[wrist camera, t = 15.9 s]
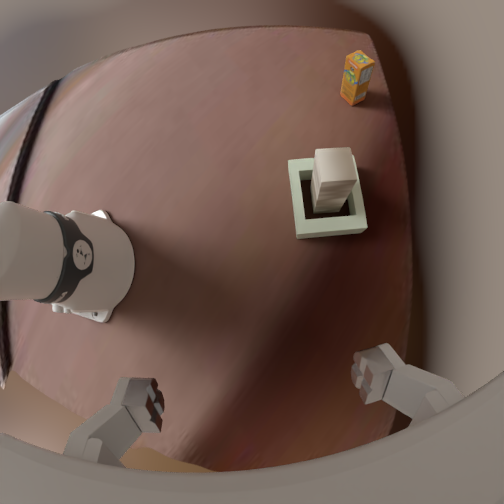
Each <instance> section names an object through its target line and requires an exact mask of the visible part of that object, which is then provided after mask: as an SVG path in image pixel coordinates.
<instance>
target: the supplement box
mask: <svg viewBox="0 0 504 504" xmlns="http://www.w3.org/2000/svg"><path fill="white" fill-rule="evenodd" d="M374 64H375V61H373V60H372V59H370V58H369V57H368V56H366V55H365V54H364V53H363V52H362V51H361V50H358V51H356V52H354V53H352V54H350V55H348V56H346V63H345V69H344V75H343V80H342V86H341V92H340V95H341V96H342V97H343V98H344V99H345V100H346V101H347V102H348V103H349V104H350V105H351V106H353V105H355V104H357V103H359V102H361V101H362V100H364V99H365V96H366V92H367V89H368V85H369V82H370V78H371V75H372V71H373V68H374Z"/></svg>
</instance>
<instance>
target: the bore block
mask: <svg viewBox="0 0 504 504" xmlns="http://www.w3.org/2000/svg"><path fill="white" fill-rule="evenodd" d="M352 157H353V162H354V166H355V171H356V175H357V181H356V183H355V185H354V186H353V188H352V190H351V192H350V193H349V195H348V197H347V199H348V205H349V211H350V216H341V217H330V218H319V219H308V220H305V214H304V206H303V198H302V191H301V183H300V180H312V173H313V166H314V158H306V159H295V160H288V170H289V178H290V186H291V193H292V201H293V210H294V218H295V227H296V237H297V239H303V238H313V237H324V236H334V235H345V234H356V233H362V232H363V231H364V230H365V229H367V221H366V215H365V209H364V203H363V198H362V192H361V187H360V182H359V177H358V173H357V168H356V164H355V159H354V156H352Z"/></svg>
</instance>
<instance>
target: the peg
mask: <svg viewBox="0 0 504 504" xmlns="http://www.w3.org/2000/svg"><path fill="white" fill-rule="evenodd" d="M356 181H357V175H356V171H355V166H354V162H353V157H352V153H351V149H350V147H345V148H327V149H316V151H315V158H314V166H313V173H312V180H311V186H310V193H311V200H312V207H313V214H320V213H331V212H339V211H340V209H341V207H342V206H343V204H344V202H345V200H346V199H347V197H348V195H349V193H350V192H351V190H352V188H353V186H354V185H355V183H356Z"/></svg>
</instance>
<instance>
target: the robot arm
mask: <svg viewBox="0 0 504 504" xmlns="http://www.w3.org/2000/svg"><path fill="white" fill-rule="evenodd" d="M134 266H135V261H134V252H133V248H132V245H131V242H130V240H129V238H128V236H127V235H126V233H125V232H124V231H123V230H122V229H121V228H120V227H118V226H117V225H115V224H114V223H113V222H112V221H111V219H110V217H109V215H108V214H107V212H106V211H104V210H98V211H96V212H94V213H92V214H88V213H84V212H80V211H76V210H73V211H71V213H68V214H66V215H63V214H61V213H57V212H51V211H44V212H41V211H38V210H35V209H32V208H29V207H26V206H23V205H20V204H17V203H14V202H11V201H6V202H1V203H0V301H5V300H27V299H33V300H34V301H37V302H40V303H45V304H52V305H53V306H52V310H53V311H54V312H59V313H63V312H64V313H74V314H77V315H80V316H83V317H86V318H89V319H92V320H95V321H98V322H107V321H108V320H109V318H110V316H111V313H112V311H113V309H114V307H115V306H116V305H117V304H118V303H119V302H120V301H121V300H122V299H123V298H124V297H125V295H126V294H127V292H128V290H129V288H130V286H131V283H132V280H133V275H134ZM97 313H98V315H97ZM353 359H354V361H355V363H354V365H353V366H352V369H351V378H352V381H353V383H354V385H355V387H357V388H359V389H360V392H359V395H360V397H361V398H362V400H363V402H364V404H369V403H372V402H375V401H378V400H382V399H383V401H385V402H386V403H388V404H389V405H391V406H393V407H394V408H396V409H398V410H399V411H401V412H402V413H404V414H406V415H407V416H409V417H411V418H413V420H412V422H411V424H410V425H409V427H408V428H406V429H404V430H402V431H400V432H397V433H395V434H392V435H390V436H387V437H384V438H382V439H379V440H377V441H374V442H371V443H368V444H365V445H362V446H359V447H356V448H353V449H350V450H347V451H343V452H340V453H336V454H333V455H329V456H325V457H321V458H317V459H312V460H308V461H303V462H298V463H293V464H288V465H282V466H276V467H269V468H262V469H254V470H244V471H232V472H213V473H178V472H160V471H148V470H137V469H130V468H126V467H125V466H124V465H123V464H122V463H121V462H120V461H119V459H120V458H121V457H122V456H123V455H124V453H125V452H126V451H127V450H128V449H129V448H130V447H131V445H132V444H133V443H134V442H135V441H136V440H137V438H138V437H139V436H140V435H141V434H142V433H141V432H148V433H161V427H162V419H161V417H160V415H161V414H162V413H164V398H163V395H162V392H161V391H160V390H158V389H157V387H158V383H157V381H156V379H154V378H127V377H121V378H120V379H119V380H118V383H117V386H116V388H115V391H114V394H113V397H112V400H111V402H110V405H106V406H104V407H103V408H102V409H100V410H99V411H98V412H97V413H95V414H94V415H93V416H92V417H90V418H89V419H88V420H86V421H85V422H84V423H83V424H81V425H80V426H79V427H77V428H76V429H75V430H74V431H72V432H71V433H70V436H69V439H68V441H67V444H66V447H65V450H64V453H63V454H60V453H56V452H53V451H50V450H47V449H44V448H41V447H38V446H35V445H32V444H29V443H27V442H24V441H22V440H20V439H17V438H15V437H12V436H10V435H8V434H5V433H0V504H504V371H503V372H502V373H500V374H499V375H498V376H497V377H495V378H494V379H492V380H491V381H490V382H488V383H487V384H485V385H484V386H482V387H481V388H479V389H478V390H476V391H475V392H473V393H472V394H470V395H469V396H467V397H464V395H463V394H462V393H461V392H460V391H459V389H458V388H457V387H456V386H455V385H454V383H453V382H452V381H451V380H448V379H446V378H443V377H440V376H438V375H435V374H432V373H430V372H427V371H425V370H422V369H419V368H417V367H414V366H412V365H405V363H404V362H403V361H402V360H401V358H400V357H399V356H398V355H397V353H396V352H395V351H394V350H393V348H392V347H391V346H390V345H389V344H388V343H385V344H382V345H378V346H375V347H371V348H368V349H364V350H360V351H357V352H355V354H354V358H353Z"/></svg>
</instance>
